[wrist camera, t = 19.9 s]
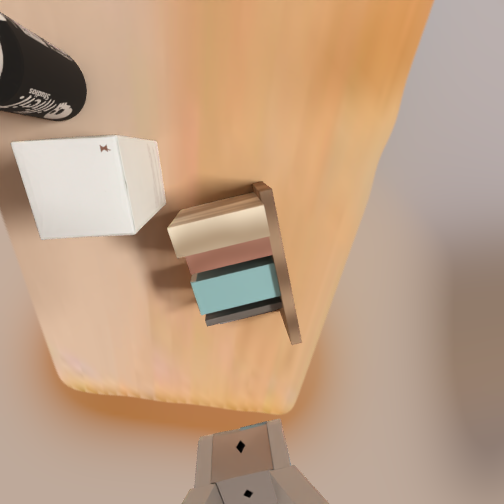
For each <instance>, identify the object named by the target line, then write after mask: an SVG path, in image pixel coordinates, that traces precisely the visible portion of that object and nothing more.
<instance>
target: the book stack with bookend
mask: <svg viewBox="0 0 504 504" xmlns="http://www.w3.org/2000/svg"><path fill="white" fill-rule="evenodd" d="M252 185H253V190H254V192H252V193H248V194H244V195H240V196H235V197H231V198H227V199H223V200H219V201H214V202H210V203H206V204H202V205H198V206H194V207H189V208H185V209H181V210H180V212H179V213H178V214H177V216H176V217H175V218H174V220H173V221H172V222H171V224H170V225H169V226H168V228H167V230H168V233H169V236H170V239H171V242H172V245H173V247H174V250H175V253H176V256H177V258H181V257H185V258H186V261H187V265H188V268H189V271H190V274H191V275H192V274H196V273H200V272H204V271H208V270H212V269H216V268H220V267H224V266H229V265H233V264H237V263H241V262H245V261H249V260H253V259H257V258H261V257H266V256H270V255H271V257H272V260H273V262H274V265H275V270H276V275H277V279H278V284H279V289H280V294H281V296H278V297H273V298H269V299H265V300H261V301H257V302H253V303H249V304H245V305H241V306H237V307H233V308H229V309H225V310H221V311H216V312H212V313H208V314H206V319H205V321H206V324H207V326H211V325H215V324H219V323H220V324H223V323H227V322H231V321H235V320H239V319H243V318H247V317H251V316H255V315H260V314H264V313H268V312H272V311H276V309H280V313H281V316H282V319H283V321H284V324H285V327H286V330H287V333H288V335H289V338H290V341H291V344H292V345H295V344H299V343H302V340H301V335H300V330H299V325H298V320H297V315H296V310H295V304H294V299H293V294H292V289H291V284H290V279H289V274H288V269H287V263H286V258H285V253H284V248H283V243H282V238H281V233H280V228H279V223H278V217H277V212H276V207H275V202H274V197H273V192H272V189H271V188H270V187H269V186H267V185H266V184H265V183H263V182H257V183H253V184H252Z"/></svg>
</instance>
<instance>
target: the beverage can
mask: <svg viewBox="0 0 504 504" xmlns="http://www.w3.org/2000/svg"><path fill="white" fill-rule="evenodd" d="M86 94H87V89H86V83H85V79H84V76H83V74H82V72H81V70H80V68H79V67H78V65H77V64H76V63H75V61H74V60H73V59H72V58H71V57H70V56H68V55H67V54H66V53H65V52H63V51H61V50H60V49H58V48H57V47H55V46H53V45H52V44H50V43H49V42H47V41H45V40H44V39H42V38H41V37H39V36H37V35H36V34H34V33H33V32H31V31H30V30H28V29H26V28H25V27H23V26H22V25H20V24H18V23H17V22H15V21H14V20H12V19H10V18H9V17H7V16H6V15H4V14H2V13H1V12H0V111H6V112H11V113H16V114H22V115H27V116H32V117H38V118H43V119H49V120H54V121H63V120H68V119H70V118H72V117H74V116H76V115H77V114H78V113H79V112H80V111H81V109H82V108H83V106H84V104H85V100H86Z"/></svg>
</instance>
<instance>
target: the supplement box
mask: <svg viewBox="0 0 504 504" xmlns="http://www.w3.org/2000/svg"><path fill="white" fill-rule="evenodd" d="M11 147H12V150H13V153H14V156H15V159H16V162H17V165H18V168H19V171H20V175H21V178H22V181H23V184H24V187H25V190H26V193H27V197H28V200H29V203H30V206H31V209H32V212H33V216H34V219H35V222H36V225H37V229H38V232H39V235H40V238H41V240H46V239H60V238H78V237H99V236H120V235H135V234H136V233H137V232H138V231H139V230H140V229H141V228H142V227H143V226H144V225H145V224H146V223H147V222H148V221H149V220H150V219H151V218H152V217H153V216H154V215H155V214H156V213H157V212H158V211H159V210H160V209H161V208H162V207H163V206H164V205H165V204H166V198H165V191H164V184H163V177H162V171H161V165H160V158H159V152H158V146H157V141H155V140H148V139H141V138H134V137H128V136H121V135H100V136H82V137H66V138H52V139H41V140H29V141H15V142H11Z"/></svg>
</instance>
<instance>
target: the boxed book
mask: <svg viewBox="0 0 504 504" xmlns="http://www.w3.org/2000/svg"><path fill="white" fill-rule="evenodd" d="M190 283H191V286H192V289H193V292H194V295H195V298H196V301H197V304H198V307H199V310H200V313H201V315H204V314H208V313H212V312H216V311H221V310H225V309H229V308H233V307H237V306H241V305H245V304H249V303H253V302H257V301H261V300H265V299H269V298H273V297H278V296H281V294H280V289H279V284H278V279H277V275H276V270H275V265H274V262H273V260H272V257H271V255H270V256H266V257H261V258H257V259H253V260H249V261H245V262H241V263H237V264H233V265H229V266H224V267H220V268H216V269H212V270H208V271H204V272H200V273H196V274H192V277H191V281H190Z"/></svg>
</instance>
